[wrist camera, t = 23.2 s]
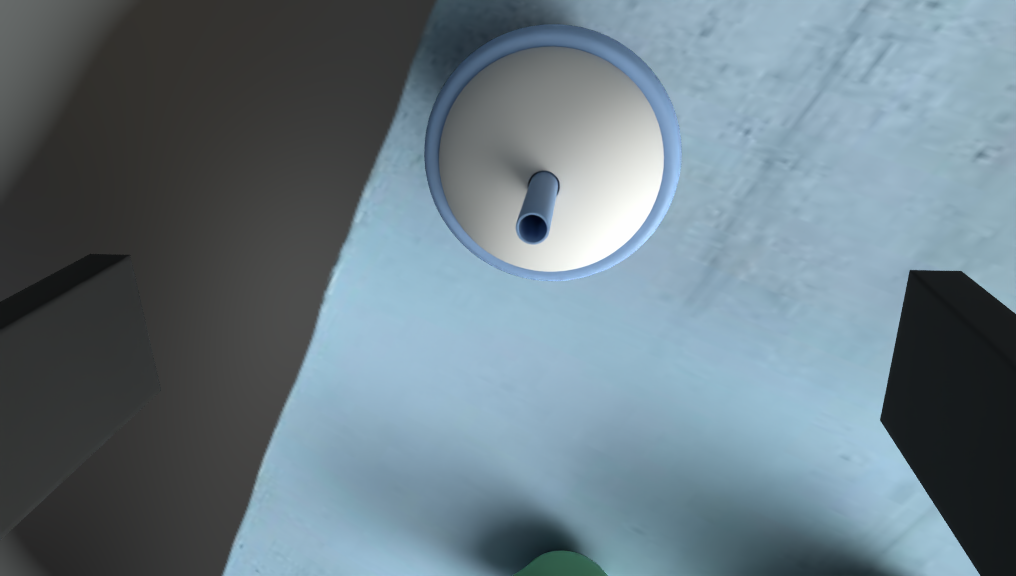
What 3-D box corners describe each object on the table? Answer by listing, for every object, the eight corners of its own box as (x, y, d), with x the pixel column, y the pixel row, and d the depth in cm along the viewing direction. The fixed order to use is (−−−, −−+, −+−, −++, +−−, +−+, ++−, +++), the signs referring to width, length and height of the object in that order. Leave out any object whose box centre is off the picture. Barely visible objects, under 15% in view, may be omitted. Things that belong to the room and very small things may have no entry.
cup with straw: (488, 217, 38) (404, 399, 21) (451, 33, 35) (318, 78, 18) (668, 191, 36) (728, 365, 20) (647, -5, 33) (698, 7, 17)
